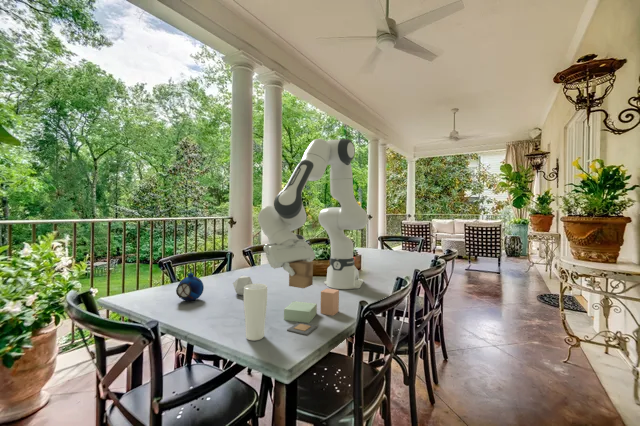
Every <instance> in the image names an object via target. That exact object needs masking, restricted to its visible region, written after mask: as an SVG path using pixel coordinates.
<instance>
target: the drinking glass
mask: <svg viewBox="0 0 640 426" xmlns="http://www.w3.org/2000/svg"><path fill="white" fill-rule="evenodd" d="M267 306H268V286H267V284H264V283H253V284H249V285H246V286H245V287H244V296H243V309H244V312H243V313H244V324H245V339H247V340H249V341H253V342H254V341H255V342H256V341H259V340H262V339H263V338H264V337H265V329H266V327H265V326H266V317H267V315H266V314H267V309H268V308H267Z"/></svg>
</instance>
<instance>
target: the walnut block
mask: <svg viewBox="0 0 640 426" xmlns="http://www.w3.org/2000/svg"><path fill="white" fill-rule="evenodd" d="M289 264H290V265H289V266H290V267H291V268H292V269H295V271H296V272H297V274H296V275H295V276H291V275H290V274H289V273H288V276H289V277H288V287H293V288H298V289H299V288H300V289H305V288H308V287H310V286H311V287H312V286H314V285H313V282H314V280H313V277H314V276H313V275H314V274H313V273H314V262H313V261H311V262H307V261H295V262H291V263H289Z"/></svg>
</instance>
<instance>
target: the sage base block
mask: <svg viewBox="0 0 640 426" xmlns="http://www.w3.org/2000/svg"><path fill="white" fill-rule="evenodd" d="M317 307H318V304H317V303H315V302H305V301H303V302H302V301H296V300H295V301H292V302H291V303H289V305H287V306H286V307H285V308H284V309H283V320H284V321H290V322H296V323H298V322H301V323H306V324H310V322H312V320H313V318H315V316H316V315H317V313H318V311H317V310H318V308H317Z"/></svg>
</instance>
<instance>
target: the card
mask: <svg viewBox="0 0 640 426" xmlns="http://www.w3.org/2000/svg"><path fill="white" fill-rule="evenodd" d="M317 328H318V325H315V324H310V323H306V322H296V323H295V324H293V325H292V326H290V327H289V328H287V329H286V331H287V332H290V333H295V334H299V335H302V336H308V335H309V334H311V333H312V332H313V331H315V330H316V329H317Z"/></svg>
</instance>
